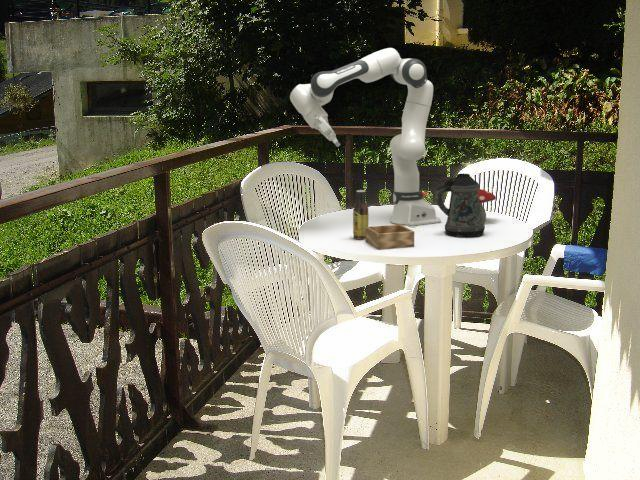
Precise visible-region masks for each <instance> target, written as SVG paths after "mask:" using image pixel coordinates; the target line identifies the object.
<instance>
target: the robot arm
mask: <svg viewBox="0 0 640 480" xmlns="http://www.w3.org/2000/svg"><path fill="white" fill-rule="evenodd" d="M389 75H390V77H391V79H393V80H394V82H396V83H397V84H400V85H406V86H407V96H406V100H405V104H404V108H403V112H402V116H401V133H399V134H397V135H395V136H393V137H392V139H391V140H390V142H389V149H390V152H391V160H392V168H393V173H394V177H393V178H394V181H393V182H394V184H393V185H394V186H393V187H394V190H393V192H392V193H393V194H392V201H393V209H392V213H391V214H392V215H391V218H390V222H391V223H393V224H394V225H399V224H401V225H403V226H405V225H407V226H420V225H429V224H437V223H442V222H441V221H442V219H441V218H440V217H438V216H437V213H436V210H435V208H434V206H433V205H432V204H430V203H429V202H428V201H427V200H426V199H424V197H425V198H426V197H427V195H428V193H427V192H425V191H422V190H420V172H419V169H418V164H417V161H420V160H421V159H422V158H423V157H424V156H425V153H426V144H425V140H426V130H427V123H428V119H429V114H430V110H431V107H432V101H433V97H434V85H433V83H432V82H431V81H430V80H428V76H427V75H428V74H427V67H426V65H425V63H424V62H423V61H421V60H420V59H418V58H411V57H410V58H401V55H400V53H399V52H398V50H397V49H395V48H393V47H387V48H383V49H380V50H378V51H375V52H372V53H371V54H368V55H366V56H364V57H362V58H361V59H358V60H357V61H353V62H351V63H347V64H346V65H343V66H341V67H338V68H336V69H333V70H326V71H322V70H321V71H319V72H317V73H315V74H313V76H312V77H311V80H310V83H305V84H304V83H303V84H301V83H299V84H297V85H296V86H295V87H293V88H292V91H290V94H289V99H290V102H291V103H292V105H293V107H294V108H295V109H296V111H297V112H298V113H299V114H301V116H302V117H303V119H304V120H305V122H306V123H307V124H308V125H309V127H310V128H311V129H315V130H318V132H320V133H321V134H322V135H323V137H325V138H326V139H327V140H328V141H330V142H332V143H333V144H334V145H335V146H336V147H337V148H339V147H340V146H341V143H340V142H339V140H338V139H337V135H336V133H335V131H334V130H333V128H332V126H331V125H330V123H329V119H328V117H329V115H328V112H327V111H325V109H324V108H323V106H325V105H326V104H328V103H330V102H331V100H332V98H333V97H334V96H333V95H334V93H335V92H334V91H335V89H336V88H338V86H340V85H342V84H345V83H347V82H350V81H352V80H355V79H359V80H360V81H362V82H364V83H366V84H368V83H373V82H375V81H378V80H380V79H382V78H384V77H386V76H389Z"/></svg>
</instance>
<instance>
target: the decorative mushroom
mask: <svg viewBox="0 0 640 480" xmlns="http://www.w3.org/2000/svg"><path fill="white" fill-rule="evenodd" d="M478 196H479V203H480V210H481V216H482V220H483V223H484V222H486V220H487V213H486V209H485V207H484V206H483V203H484V204H485V203H487V202H491V201H495V200H496V199H497V197H496V195H495V194H493V193H492V192H491V191H488V190H485V189H482V188H479V190H478Z"/></svg>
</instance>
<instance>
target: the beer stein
mask: <svg viewBox="0 0 640 480" xmlns="http://www.w3.org/2000/svg"><path fill="white" fill-rule="evenodd" d="M480 187H481V186H480V183H478V182H477V181H476V180H475V179H473V177H472V176H471V175H470V174H469V173H457V174H456V176H454V177H451V178H446V179H445V180H444V184H442V185H441V186H439V187H437V188H436V192H435V202H436V205H438V208H439V209H440V210H441V211H442V212H443V213H444V214H445V215H446V216H447V219H446V222H445V223H444V230H445V235H446V236H449V237H453V238H461V239H473V238H479V237H482V235H483V236H484V232H485V228H486V225H485V223H484V222H483V220H482V216H481V210H480V203H479V196H478V190H479V189H480ZM445 192H447V193H449V192H450V200H449V205H448V206H449V207H447V206H446V205H445V203H444V202H443V200H442V194H443V193H445Z"/></svg>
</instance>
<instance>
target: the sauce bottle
mask: <svg viewBox="0 0 640 480" xmlns="http://www.w3.org/2000/svg"><path fill="white" fill-rule="evenodd" d="M366 196H367V190H363V189H359V190H358V189H357V190H356V191H355V197H356V198H355V199H356V200H355V204H354V207H353V211H352V218H353V219H352V220H353V221H352V222H353V223H352V226H353V227H352V228H353V229H352V234H353V239H355V240H366V237H365V227H369V219H370V218H369V205H368V204H367V202H366V201H367V200H366Z"/></svg>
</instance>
